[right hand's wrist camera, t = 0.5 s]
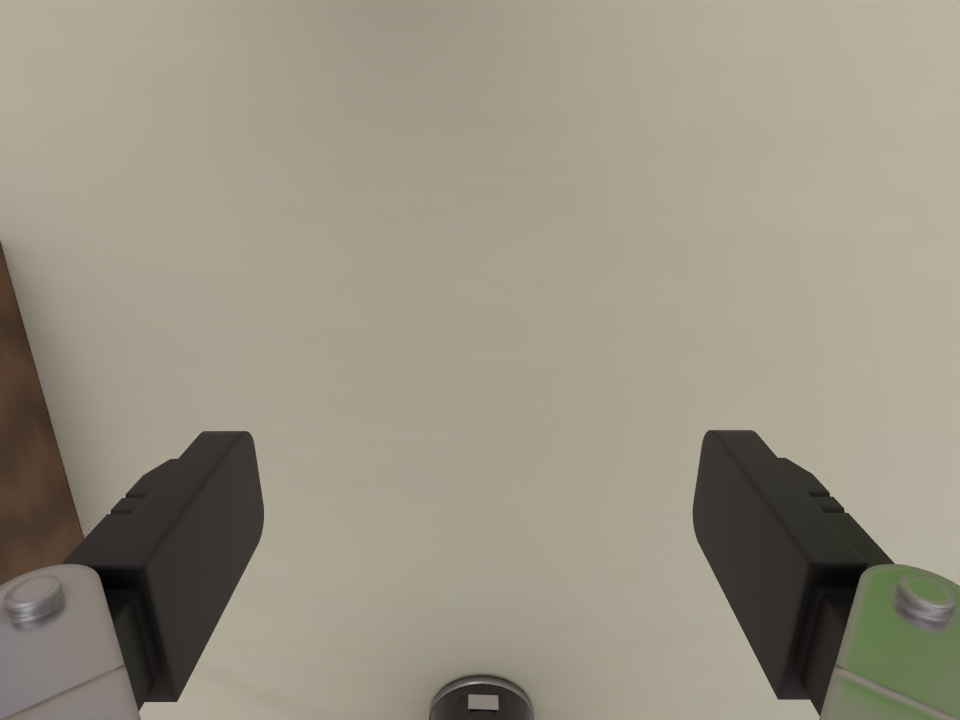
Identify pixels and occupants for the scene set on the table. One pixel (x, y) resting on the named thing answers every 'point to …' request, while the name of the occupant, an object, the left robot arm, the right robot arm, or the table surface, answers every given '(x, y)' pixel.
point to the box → (28, 458)
